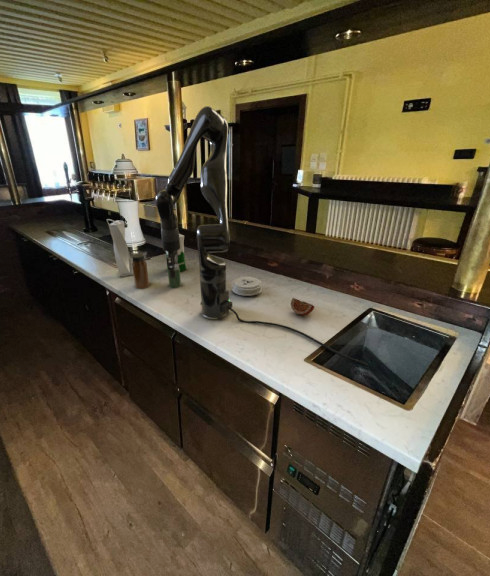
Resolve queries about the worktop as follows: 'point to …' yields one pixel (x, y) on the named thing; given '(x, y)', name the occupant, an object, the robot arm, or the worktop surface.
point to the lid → (247, 286)
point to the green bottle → (175, 281)
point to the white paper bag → (121, 248)
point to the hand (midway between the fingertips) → (174, 274)
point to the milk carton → (180, 254)
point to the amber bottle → (140, 271)
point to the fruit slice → (301, 307)
